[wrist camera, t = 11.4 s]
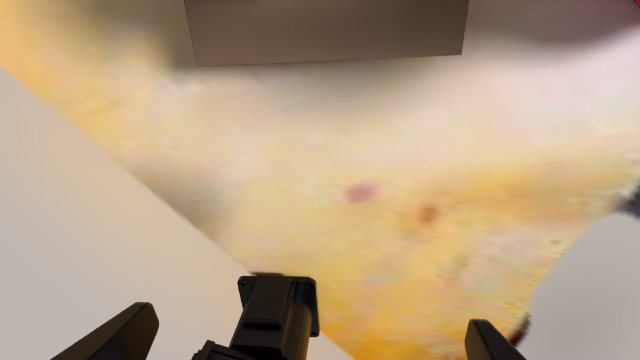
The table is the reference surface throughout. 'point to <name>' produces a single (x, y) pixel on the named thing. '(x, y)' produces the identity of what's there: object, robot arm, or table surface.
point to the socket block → (323, 30)
